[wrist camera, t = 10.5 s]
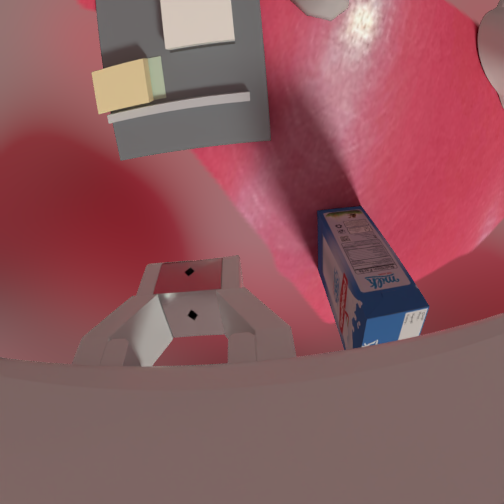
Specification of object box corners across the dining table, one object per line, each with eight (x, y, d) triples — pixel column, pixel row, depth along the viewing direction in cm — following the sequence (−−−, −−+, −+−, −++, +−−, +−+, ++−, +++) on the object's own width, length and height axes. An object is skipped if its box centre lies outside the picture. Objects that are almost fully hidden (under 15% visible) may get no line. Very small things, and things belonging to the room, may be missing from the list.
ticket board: (254, -37, 24) (256, -46, 21) (269, 138, 36) (273, 145, 33) (99, -7, 24) (86, -12, 21) (123, 157, 36) (114, 167, 33)
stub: (147, 58, 29) (142, 58, 27) (153, 100, 31) (149, 102, 30) (98, 71, 29) (91, 72, 27) (105, 111, 31) (98, 114, 30)
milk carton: (317, 209, 42) (367, 318, 25) (361, 205, 42) (429, 305, 25) (317, 269, 47) (354, 382, 31) (357, 264, 47) (406, 370, 31)
